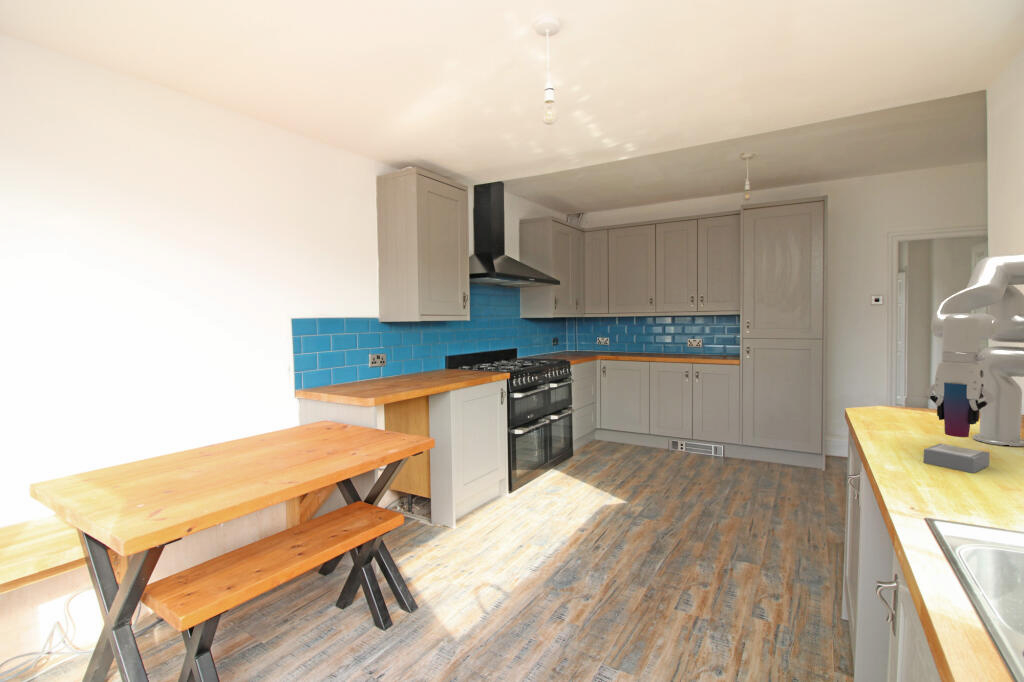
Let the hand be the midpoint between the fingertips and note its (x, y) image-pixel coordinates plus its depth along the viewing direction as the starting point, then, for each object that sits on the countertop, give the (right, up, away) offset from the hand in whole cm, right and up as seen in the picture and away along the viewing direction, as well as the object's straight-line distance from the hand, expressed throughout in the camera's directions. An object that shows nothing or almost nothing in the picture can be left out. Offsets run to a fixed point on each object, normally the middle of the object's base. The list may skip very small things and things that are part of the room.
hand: (957, 420), depth 139 cm
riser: (0, -13, +1) cm, 13 cm away
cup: (0, -4, 0) cm, 4 cm away
